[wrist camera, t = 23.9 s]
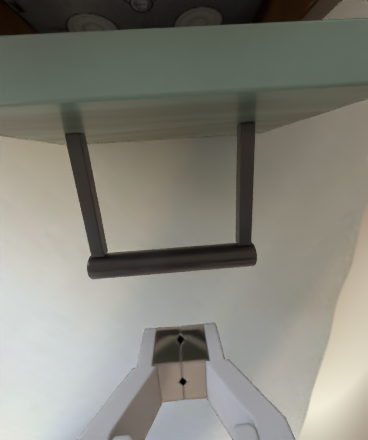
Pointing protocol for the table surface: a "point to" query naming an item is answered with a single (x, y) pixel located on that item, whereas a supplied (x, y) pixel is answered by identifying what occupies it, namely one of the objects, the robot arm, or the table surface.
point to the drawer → (177, 100)
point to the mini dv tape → (131, 14)
